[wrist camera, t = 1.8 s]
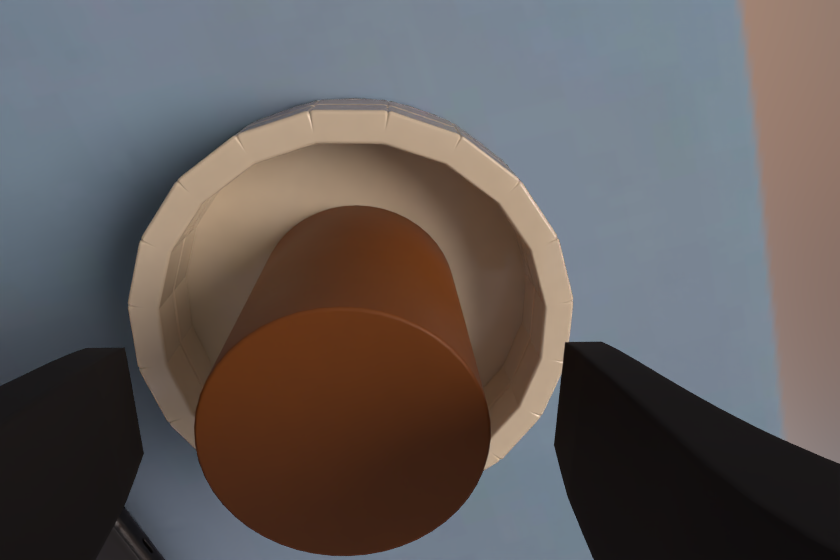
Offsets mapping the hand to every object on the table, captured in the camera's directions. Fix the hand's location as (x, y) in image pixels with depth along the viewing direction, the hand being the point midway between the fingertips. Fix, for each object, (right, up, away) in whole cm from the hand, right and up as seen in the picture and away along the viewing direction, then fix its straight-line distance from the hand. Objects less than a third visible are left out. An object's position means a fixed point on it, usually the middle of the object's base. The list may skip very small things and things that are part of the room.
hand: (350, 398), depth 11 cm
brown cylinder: (0, +2, +4) cm, 4 cm away
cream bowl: (0, +2, +4) cm, 5 cm away
